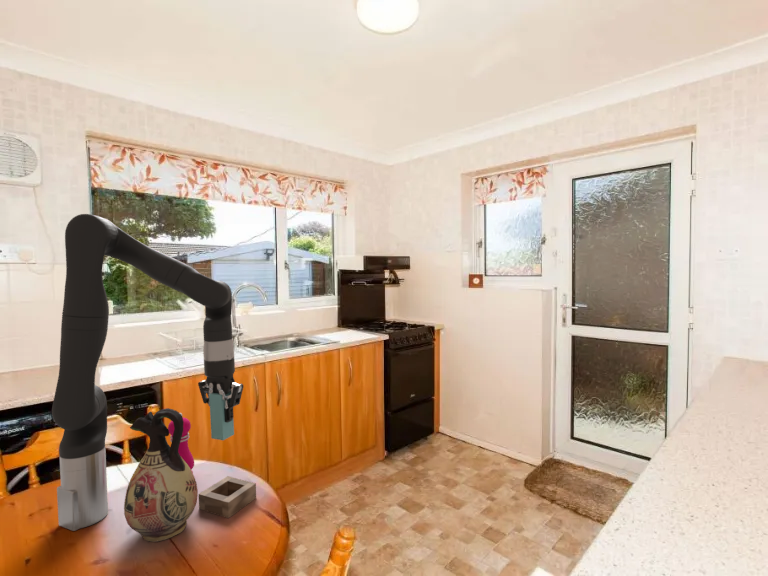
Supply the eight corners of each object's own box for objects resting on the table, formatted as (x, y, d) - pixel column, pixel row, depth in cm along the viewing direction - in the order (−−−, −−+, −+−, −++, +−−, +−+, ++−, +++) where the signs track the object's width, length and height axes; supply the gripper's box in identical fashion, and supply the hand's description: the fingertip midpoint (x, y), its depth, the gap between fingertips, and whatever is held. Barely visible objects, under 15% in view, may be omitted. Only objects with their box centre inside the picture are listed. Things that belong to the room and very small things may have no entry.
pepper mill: (184, 487, 119) (181, 418, 118) (161, 485, 120) (159, 416, 119) (200, 474, 126) (197, 409, 125) (178, 472, 127) (176, 408, 126)
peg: (223, 440, 109) (221, 395, 108) (211, 438, 111) (209, 393, 110) (234, 434, 113) (232, 390, 112) (222, 432, 114) (220, 389, 114)
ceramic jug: (108, 550, 93) (102, 417, 91) (155, 509, 108) (151, 395, 106) (178, 556, 90) (173, 420, 89) (217, 514, 106) (213, 397, 104)
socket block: (228, 518, 104) (228, 502, 104) (199, 509, 108) (198, 494, 108) (256, 497, 113) (255, 483, 113) (227, 490, 117) (227, 476, 117)
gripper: (187, 357, 110) (190, 422, 111) (229, 361, 104) (232, 429, 105) (209, 352, 117) (212, 412, 118) (250, 355, 111) (253, 418, 112)
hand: (222, 420), depth 111 cm, fingers closed on peg, 4 cm apart
